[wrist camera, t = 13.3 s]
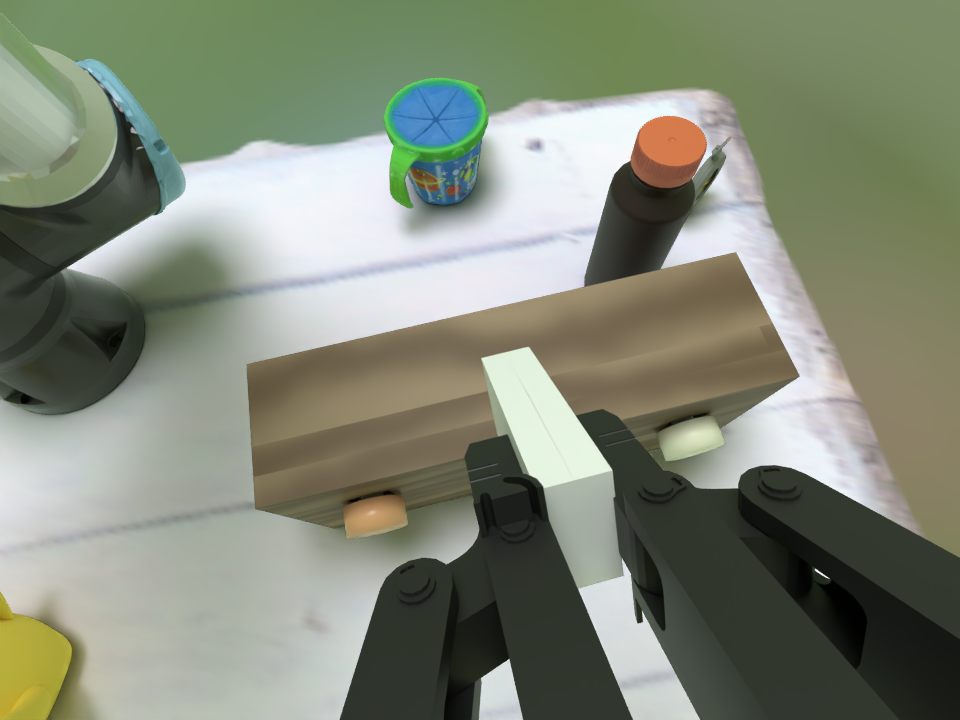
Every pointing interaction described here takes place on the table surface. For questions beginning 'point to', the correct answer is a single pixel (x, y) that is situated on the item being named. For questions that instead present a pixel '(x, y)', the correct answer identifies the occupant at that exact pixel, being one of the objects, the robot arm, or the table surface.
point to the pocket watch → (708, 171)
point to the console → (464, 394)
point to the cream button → (690, 437)
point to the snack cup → (435, 139)
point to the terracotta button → (374, 515)
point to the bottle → (647, 201)
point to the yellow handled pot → (29, 666)
